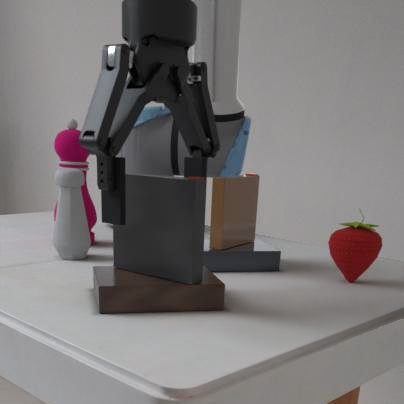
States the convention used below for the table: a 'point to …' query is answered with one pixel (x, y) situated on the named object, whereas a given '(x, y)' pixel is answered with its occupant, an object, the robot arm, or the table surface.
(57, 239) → the salt shaker
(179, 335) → the table surface
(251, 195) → the tan flat block
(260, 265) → the slate stand
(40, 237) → the table surface
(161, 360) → the table surface
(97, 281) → the walnut stand
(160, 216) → the dark grey flat slab
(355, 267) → the strawberry
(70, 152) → the pepper mill
